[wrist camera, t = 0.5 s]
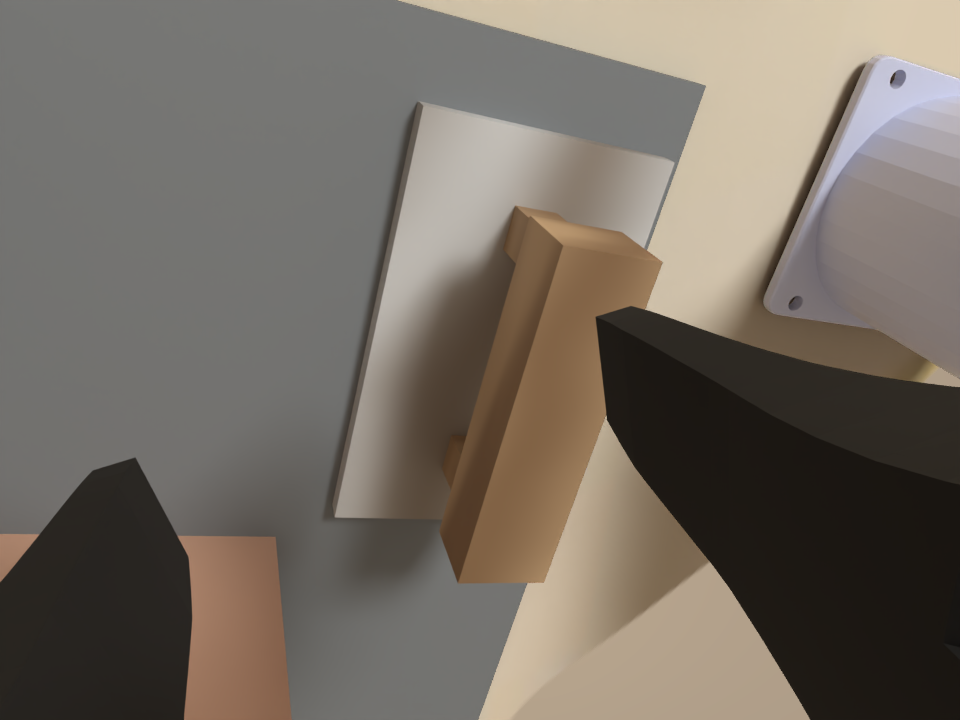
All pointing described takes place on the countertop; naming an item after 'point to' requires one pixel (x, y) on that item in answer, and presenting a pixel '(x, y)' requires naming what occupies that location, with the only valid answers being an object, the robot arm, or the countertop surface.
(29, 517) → the mat
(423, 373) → the trowel
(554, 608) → the countertop surface
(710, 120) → the countertop surface
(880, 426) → the robot arm
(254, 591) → the tile
